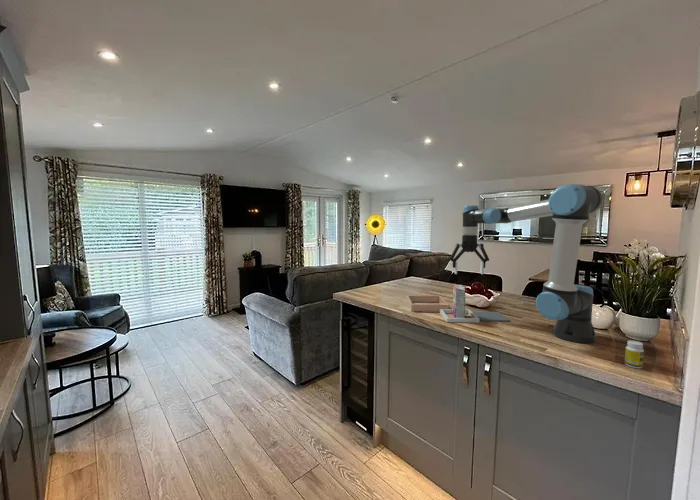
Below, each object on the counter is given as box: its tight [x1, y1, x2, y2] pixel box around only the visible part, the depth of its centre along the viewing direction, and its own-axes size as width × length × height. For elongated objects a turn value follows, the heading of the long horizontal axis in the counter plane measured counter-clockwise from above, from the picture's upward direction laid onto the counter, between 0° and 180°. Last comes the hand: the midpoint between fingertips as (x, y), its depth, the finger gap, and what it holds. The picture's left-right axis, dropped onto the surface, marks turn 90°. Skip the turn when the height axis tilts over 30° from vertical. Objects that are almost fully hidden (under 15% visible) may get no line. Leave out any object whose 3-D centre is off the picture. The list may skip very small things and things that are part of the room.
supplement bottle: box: [624, 339, 645, 370], centre depth 107 cm, size 5×5×8 cm
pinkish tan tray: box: [406, 294, 450, 313], centre depth 184 cm, size 22×21×4 cm
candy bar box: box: [452, 284, 466, 318], centre depth 162 cm, size 11×5×16 cm, turn 168°
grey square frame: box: [439, 308, 480, 323], centre depth 163 cm, size 16×16×2 cm
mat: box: [472, 311, 511, 322], centre depth 163 cm, size 14×14×1 cm
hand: (468, 273), depth 166 cm, fingers open, 13 cm apart
